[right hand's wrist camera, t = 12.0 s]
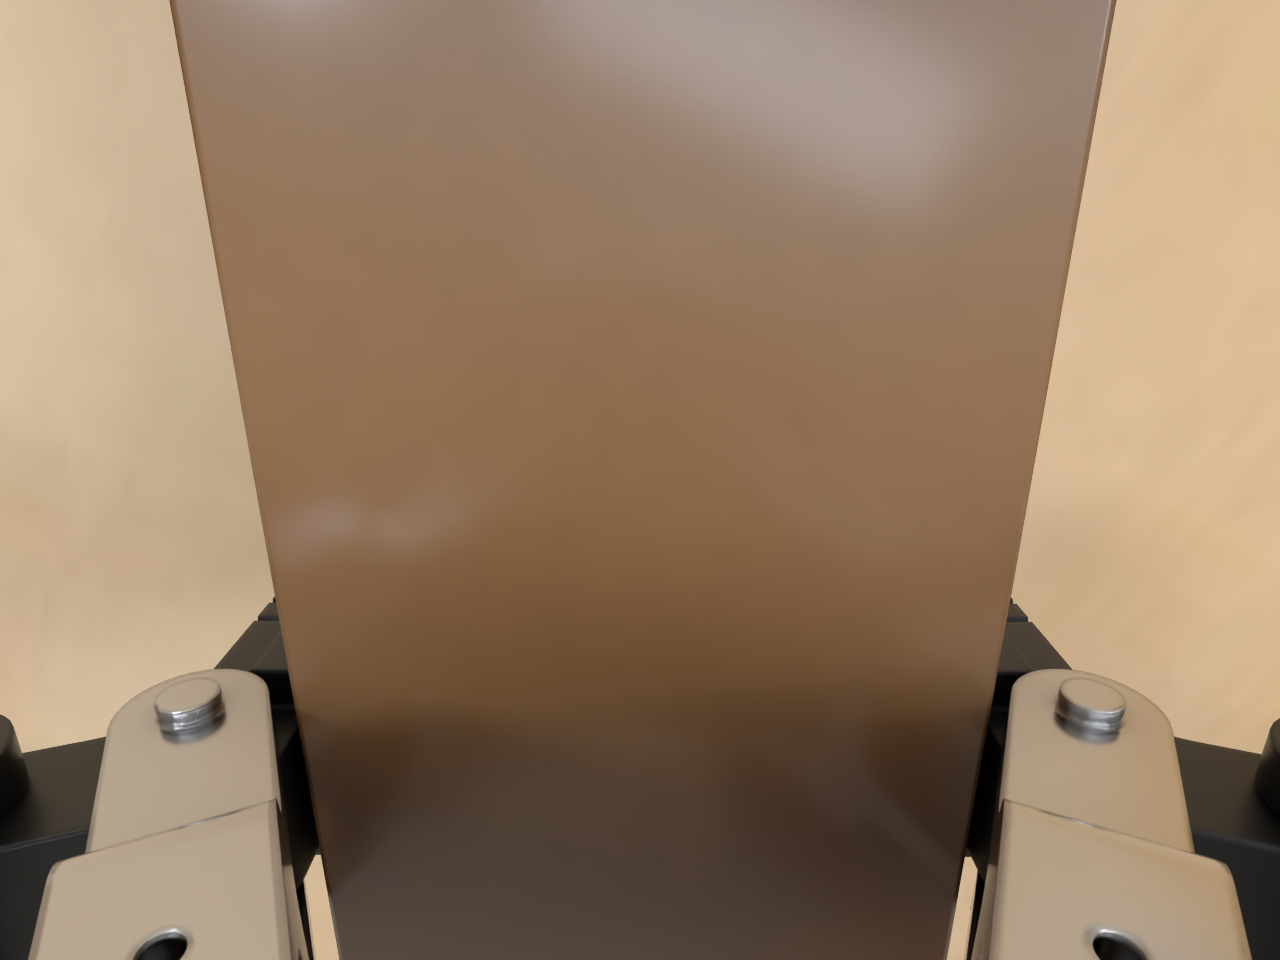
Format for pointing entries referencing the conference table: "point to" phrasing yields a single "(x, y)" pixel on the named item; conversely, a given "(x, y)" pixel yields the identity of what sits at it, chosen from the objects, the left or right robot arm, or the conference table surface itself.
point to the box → (642, 444)
